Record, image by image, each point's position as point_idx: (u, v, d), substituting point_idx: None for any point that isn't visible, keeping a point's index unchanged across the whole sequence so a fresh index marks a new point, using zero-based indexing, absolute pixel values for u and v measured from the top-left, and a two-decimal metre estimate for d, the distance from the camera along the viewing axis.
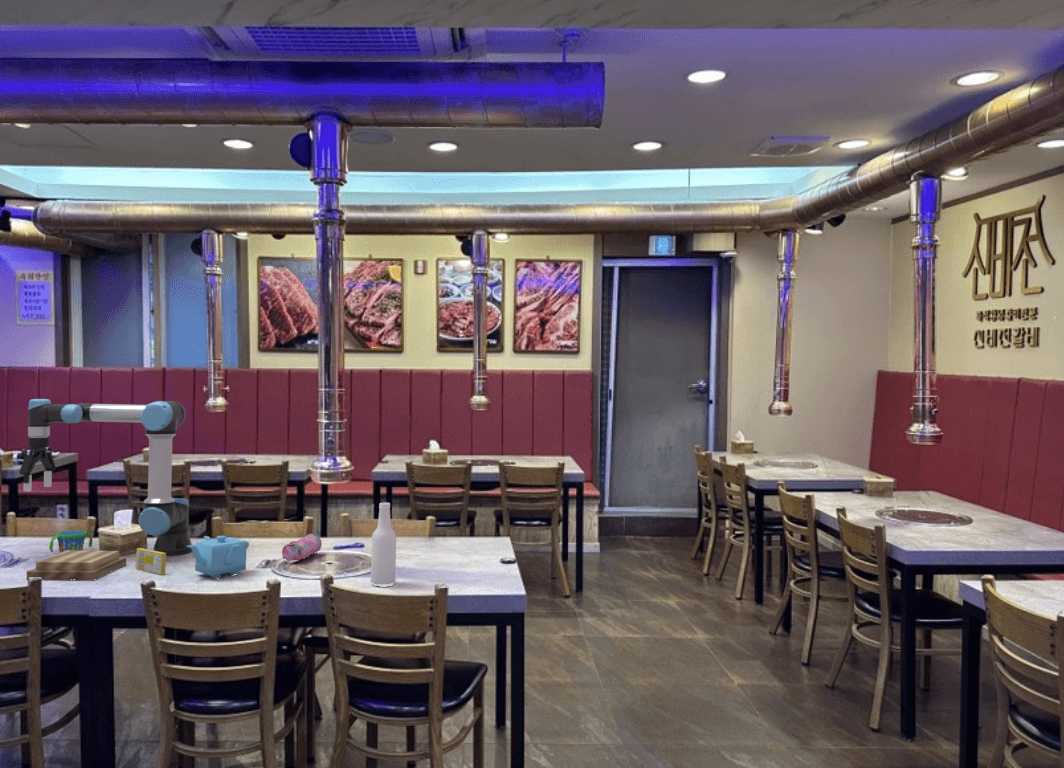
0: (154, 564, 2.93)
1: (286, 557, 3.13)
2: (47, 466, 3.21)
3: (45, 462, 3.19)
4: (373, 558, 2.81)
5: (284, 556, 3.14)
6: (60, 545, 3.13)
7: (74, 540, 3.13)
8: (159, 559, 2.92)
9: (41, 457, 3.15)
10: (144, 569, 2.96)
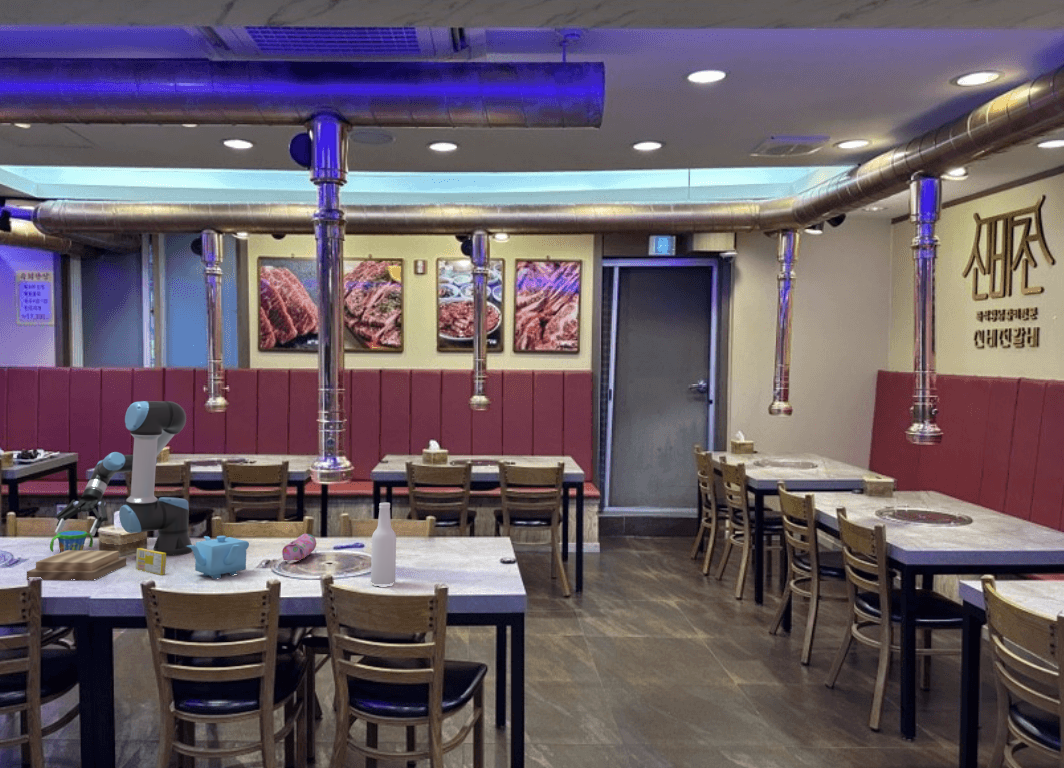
0: (154, 564, 2.93)
1: (287, 557, 3.13)
2: None
3: (94, 512, 3.28)
4: (373, 558, 2.81)
5: (285, 556, 3.13)
6: (60, 545, 3.13)
7: (74, 541, 3.13)
8: (159, 559, 2.92)
9: (85, 507, 3.29)
10: (144, 569, 2.96)
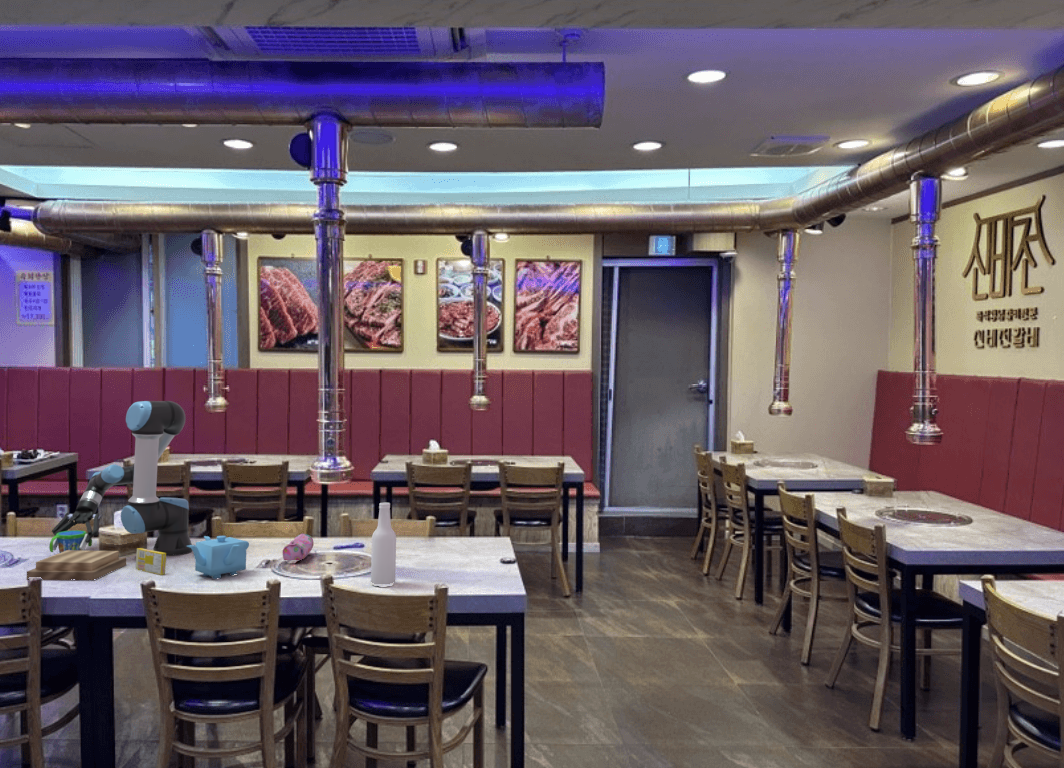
0: (154, 564, 2.93)
1: (287, 557, 3.13)
2: None
3: None
4: (373, 558, 2.81)
5: (285, 556, 3.13)
6: (60, 545, 3.12)
7: (74, 541, 3.13)
8: (159, 559, 2.92)
9: (80, 519, 3.23)
10: (144, 569, 2.96)
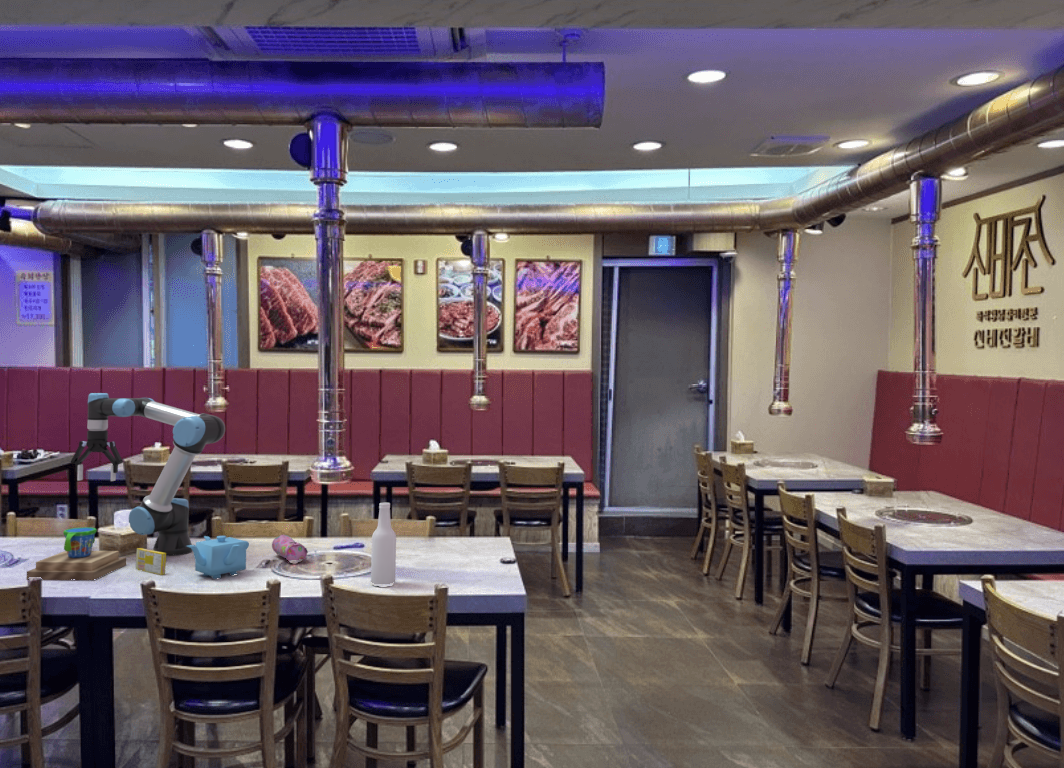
0: (154, 564, 2.93)
1: (292, 558, 3.12)
2: None
3: None
4: (373, 558, 2.81)
5: (289, 557, 3.12)
6: (75, 543, 2.89)
7: (91, 537, 2.92)
8: (159, 559, 2.92)
9: (96, 450, 3.23)
10: (144, 569, 2.96)
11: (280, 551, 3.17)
